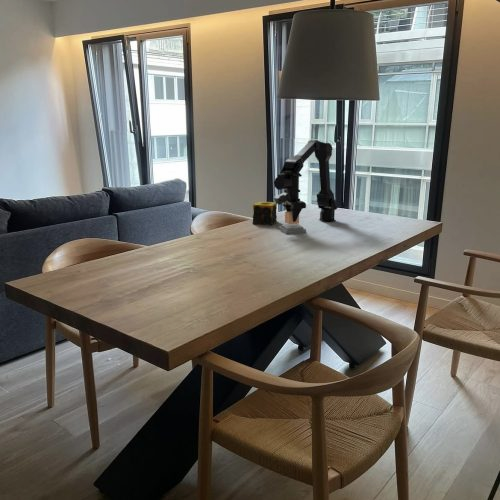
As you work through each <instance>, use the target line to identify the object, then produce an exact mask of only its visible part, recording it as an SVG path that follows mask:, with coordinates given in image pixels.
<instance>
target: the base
mask: <svg viewBox="0 0 500 500" xmlns="http://www.w3.org/2000/svg"><path fill="white" fill-rule="evenodd" d="M277 229H278V231H280V232H282V233H283V234H285V235H292V234H293V235H294V234H306V233H307V229H306V228H304V226H302V225H300V223H299V224H288V223H286V224H280V225H279V226H277Z"/></svg>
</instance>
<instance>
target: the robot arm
mask: <svg viewBox="0 0 500 500" xmlns="http://www.w3.org/2000/svg"><path fill="white" fill-rule="evenodd" d="M313 153H314V156H315V159H316V160H317V161H318V169H319V170H318V173H319V191H318V193H317V194H316V202H317V206H318V209H320V212H319V219H318V220H319V221H320V222H323V223H329V222H336V221H337V220H336V219H335V215H336V214H335V211H336V210H338V208H339V204H338V203H337V201H336V199H335V194H334V192H333V191H332V189H331V177H330V173H331V172H330V159H331V158H332V156H333V146H332V144H331V143H329V142H323V141H320V140H317V139H310V140H308V141H307V143H306V144H305V146H304V147H303V148H302V149H300V151H298V152H297V154H295V155H293V156H291V157H288V158H287V159H286V160H285V161H284V163H283V166H282V168H281V170H280V172H279V173H278V174H277V176H276V177H275V179H274V181H273V185H274V187H275V189H276V190H278V191H280V190H283V192H282V193H280V194H277V195H275V196H273V199H274V202H275V203H276V204H277V206H278V205H279V206H280V205H282V206H283V207H284V208H285V209H286V212H287V211H292V218H293V222H296V220H297V218H298V216H299V217H300V215H301V214H300V213H301V211H302V210H303V209H307V203H306V202H305V201H302V200H301V198H300V197H299V195H300V193H301V189H300V177H301V178H302V177H303V176H302V174H301V173H300V172H301V171H302V170H303V168H304V163H305V162H306V161H307V160H308V159H309V157H311V156H312V154H313Z"/></svg>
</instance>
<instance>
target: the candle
mask: <svg viewBox="0 0 500 500" xmlns="http://www.w3.org/2000/svg"><path fill="white" fill-rule="evenodd" d="M277 206H278V204H276V202H275V201H274V202H272V201H257V202H255V203H253V204H252V210H253V214H252V225H264V226H272V225H274V224H275V223H276V222H277V217H278V216H277V209H278V208H277Z"/></svg>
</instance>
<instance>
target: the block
mask: <svg viewBox="0 0 500 500" xmlns="http://www.w3.org/2000/svg"><path fill="white" fill-rule="evenodd" d="M284 223H286V224H299V225H300V215H299V216H298V218H297V220H296V222H293V218H292V211H287V210H286V211H285V212H284Z"/></svg>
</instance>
